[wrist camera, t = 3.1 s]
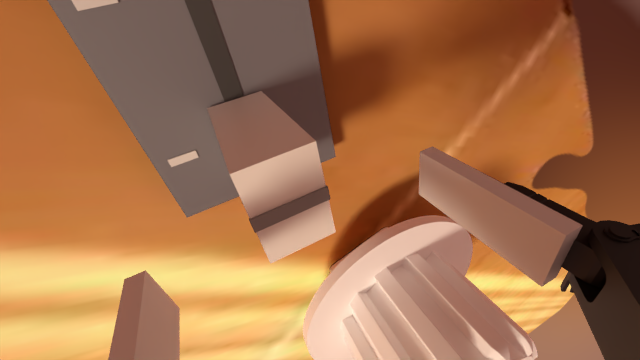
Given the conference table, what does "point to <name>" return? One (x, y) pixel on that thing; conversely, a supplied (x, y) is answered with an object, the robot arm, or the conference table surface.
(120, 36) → the fader console
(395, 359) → the ribbed cylinder on disc
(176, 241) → the conference table surface
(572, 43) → the conference table surface
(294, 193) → the fader tab
